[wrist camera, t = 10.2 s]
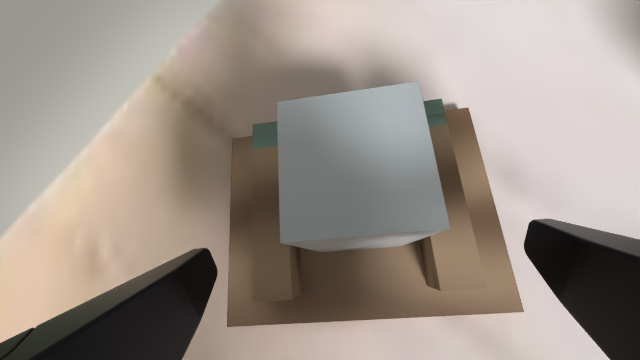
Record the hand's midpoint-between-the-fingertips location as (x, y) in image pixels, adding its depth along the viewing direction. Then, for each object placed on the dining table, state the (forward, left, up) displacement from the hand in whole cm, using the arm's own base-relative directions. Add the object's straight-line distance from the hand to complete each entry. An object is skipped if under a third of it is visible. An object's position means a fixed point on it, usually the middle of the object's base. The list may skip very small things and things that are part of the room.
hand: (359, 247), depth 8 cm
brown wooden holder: (+2, -2, -9) cm, 10 cm away
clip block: (+1, -2, -8) cm, 9 cm away
